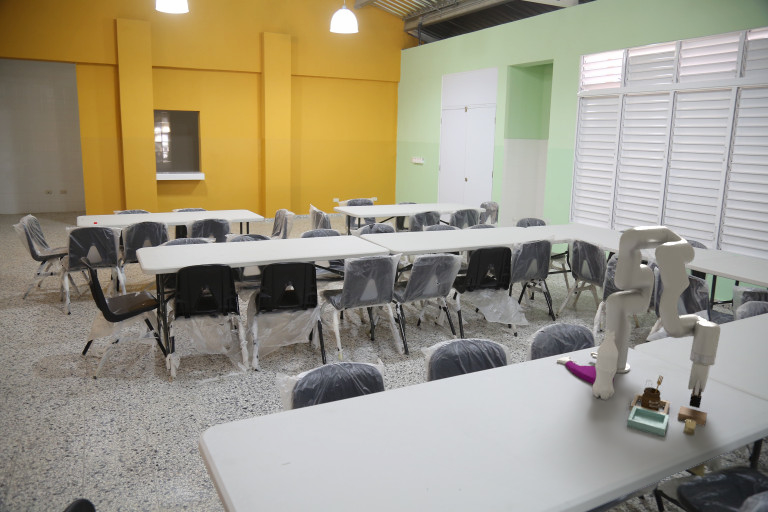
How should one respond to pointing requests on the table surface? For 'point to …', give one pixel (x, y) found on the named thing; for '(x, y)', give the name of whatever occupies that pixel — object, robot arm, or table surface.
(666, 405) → the wooden square frame
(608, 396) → the water bottle
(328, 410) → the table surface
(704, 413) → the board
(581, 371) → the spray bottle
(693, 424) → the cylinder
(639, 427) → the tray
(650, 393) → the utensil holder
